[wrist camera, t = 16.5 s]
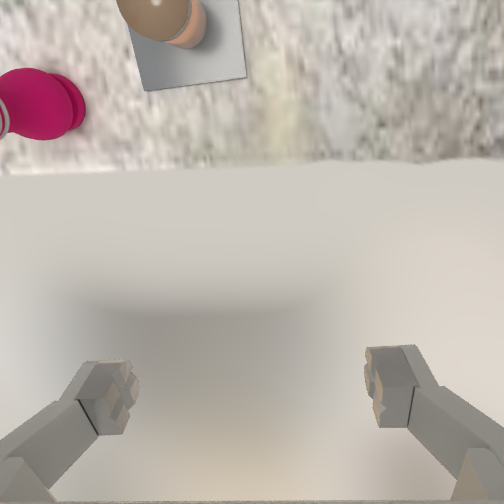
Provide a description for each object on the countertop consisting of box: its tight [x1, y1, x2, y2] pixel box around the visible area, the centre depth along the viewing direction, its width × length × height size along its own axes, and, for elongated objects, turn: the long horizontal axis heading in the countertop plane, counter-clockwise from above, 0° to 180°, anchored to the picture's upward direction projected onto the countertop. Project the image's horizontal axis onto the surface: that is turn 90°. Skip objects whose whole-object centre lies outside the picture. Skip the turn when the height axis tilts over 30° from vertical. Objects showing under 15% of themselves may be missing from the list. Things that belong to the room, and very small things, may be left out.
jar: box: [116, 0, 207, 49], centre depth 29 cm, size 5×5×11 cm
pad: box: [128, 0, 247, 91], centre depth 34 cm, size 12×12×1 cm
